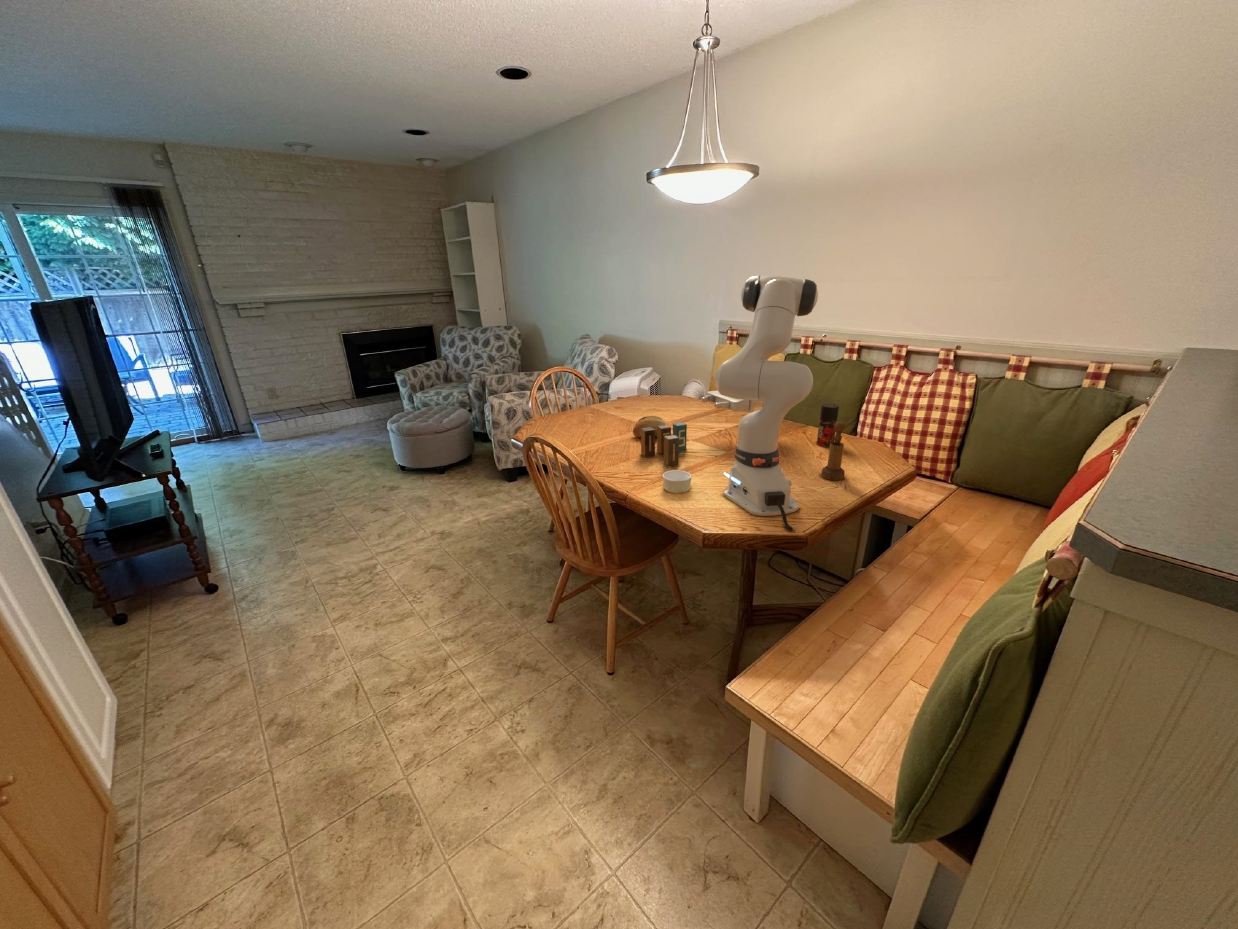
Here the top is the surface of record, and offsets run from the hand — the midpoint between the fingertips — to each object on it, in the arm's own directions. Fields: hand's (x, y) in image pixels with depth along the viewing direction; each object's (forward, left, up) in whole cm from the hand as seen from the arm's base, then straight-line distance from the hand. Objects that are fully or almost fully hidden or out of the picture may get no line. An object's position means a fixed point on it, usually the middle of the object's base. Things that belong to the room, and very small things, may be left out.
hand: (708, 402), depth 177 cm
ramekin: (-35, +24, -17) cm, 45 cm away
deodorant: (-12, -42, -17) cm, 47 cm away
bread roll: (+17, +18, -17) cm, 30 cm away
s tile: (-2, +12, -17) cm, 20 cm away
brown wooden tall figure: (-40, -26, -17) cm, 51 cm away
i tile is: (-15, +19, -17) cm, 30 cm away
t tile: (-3, +18, -17) cm, 25 cm away
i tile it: (-4, +25, -17) cm, 30 cm away
